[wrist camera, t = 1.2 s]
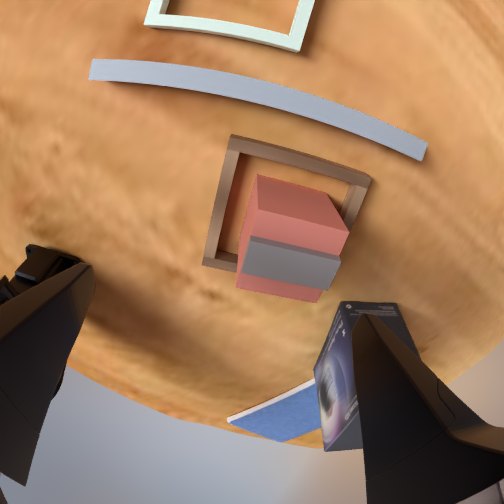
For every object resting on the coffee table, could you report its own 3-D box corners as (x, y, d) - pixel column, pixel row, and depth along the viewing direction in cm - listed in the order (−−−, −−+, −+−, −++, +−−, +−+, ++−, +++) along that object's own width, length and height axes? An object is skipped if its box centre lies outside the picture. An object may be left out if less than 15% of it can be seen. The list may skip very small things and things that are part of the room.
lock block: (303, 251, 23) (317, 309, 17) (239, 237, 22) (234, 294, 17) (325, 192, 20) (352, 238, 15) (256, 173, 20) (258, 214, 14)
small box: (335, 298, 25) (365, 401, 16) (398, 300, 26) (440, 390, 17) (309, 370, 31) (321, 455, 22) (362, 368, 31) (383, 447, 22)
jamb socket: (319, 281, 24) (322, 290, 23) (204, 256, 23) (201, 265, 22) (365, 173, 19) (371, 178, 18) (231, 134, 18) (229, 137, 17)
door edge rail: (408, 154, 18) (421, 161, 17) (102, 79, 16) (88, 79, 14) (414, 137, 18) (428, 143, 16) (106, 60, 15) (92, 59, 13)
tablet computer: (342, 357, 31) (344, 366, 29) (385, 390, 35) (388, 397, 34) (223, 414, 38) (223, 422, 37) (280, 437, 42) (281, 444, 41)
